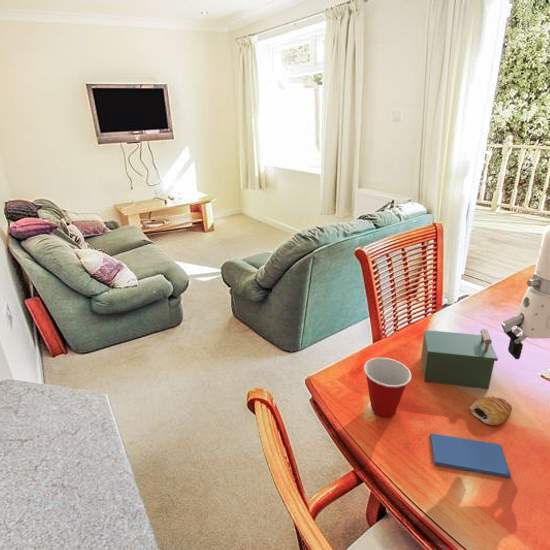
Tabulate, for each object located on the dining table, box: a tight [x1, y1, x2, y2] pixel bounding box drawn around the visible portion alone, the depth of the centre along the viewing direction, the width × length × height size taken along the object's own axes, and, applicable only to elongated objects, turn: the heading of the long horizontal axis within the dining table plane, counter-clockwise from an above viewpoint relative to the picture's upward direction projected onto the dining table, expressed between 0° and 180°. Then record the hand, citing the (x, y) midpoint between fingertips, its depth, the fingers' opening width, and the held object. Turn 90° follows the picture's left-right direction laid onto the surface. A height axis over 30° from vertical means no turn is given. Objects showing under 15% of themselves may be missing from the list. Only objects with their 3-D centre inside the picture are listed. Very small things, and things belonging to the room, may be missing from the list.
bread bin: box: [420, 333, 495, 390], centre depth 101 cm, size 16×11×9 cm
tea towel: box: [430, 433, 512, 479], centre depth 79 cm, size 14×8×1 cm, turn 74°
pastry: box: [468, 396, 513, 426], centre depth 88 cm, size 9×7×4 cm
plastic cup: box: [363, 357, 412, 419], centre depth 90 cm, size 11×11×12 cm
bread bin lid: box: [423, 328, 498, 362], centre depth 99 cm, size 16×11×4 cm, turn 75°
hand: (536, 354), depth 82 cm, fingers open, 9 cm apart
